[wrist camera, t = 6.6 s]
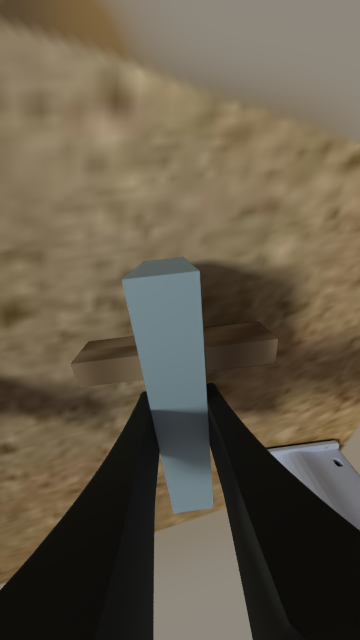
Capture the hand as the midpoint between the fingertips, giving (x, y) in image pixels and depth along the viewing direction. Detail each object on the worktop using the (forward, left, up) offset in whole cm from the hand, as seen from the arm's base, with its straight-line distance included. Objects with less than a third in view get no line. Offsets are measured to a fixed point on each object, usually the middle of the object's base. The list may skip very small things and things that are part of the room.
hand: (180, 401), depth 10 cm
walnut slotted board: (0, 0, -6) cm, 6 cm away
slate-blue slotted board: (0, 0, -4) cm, 5 cm away
